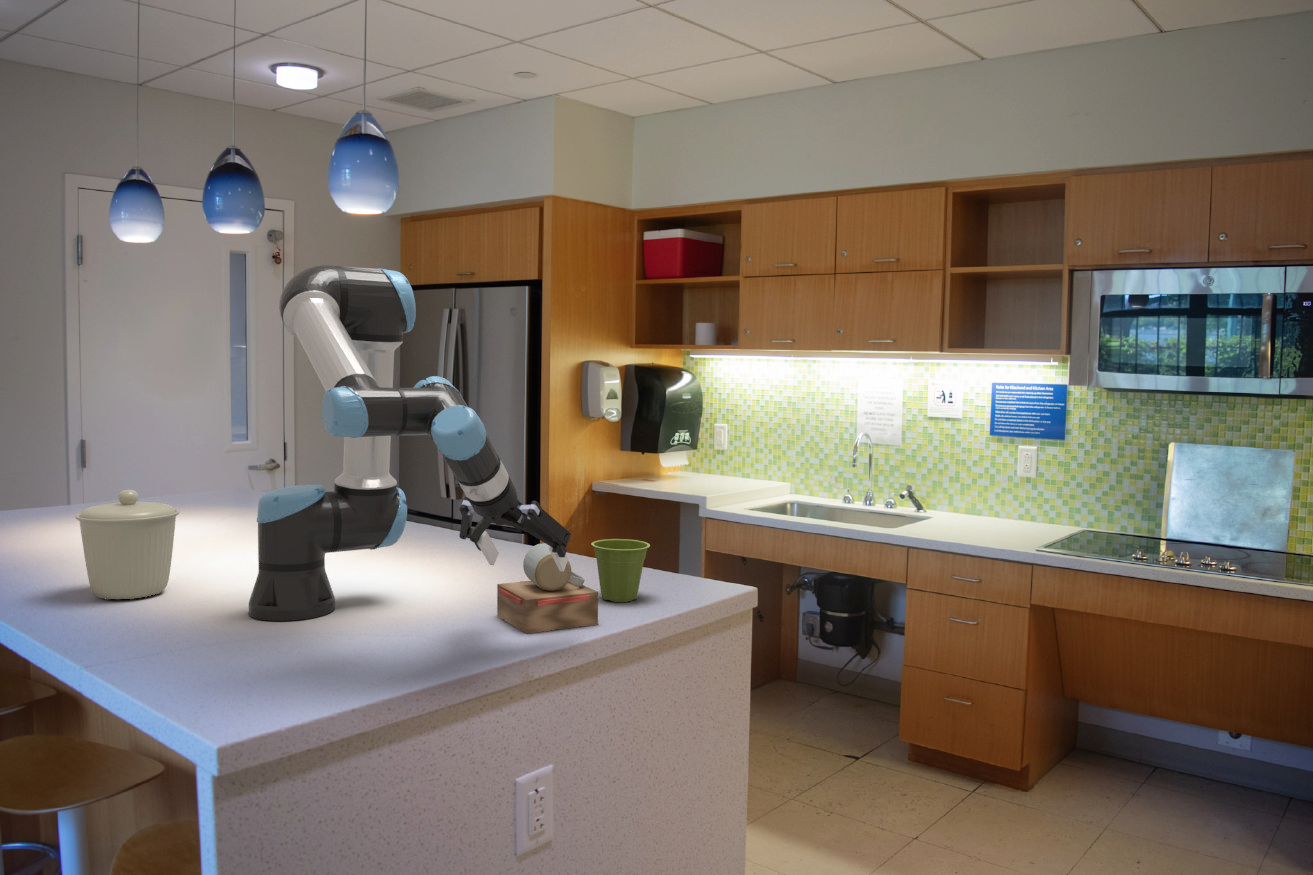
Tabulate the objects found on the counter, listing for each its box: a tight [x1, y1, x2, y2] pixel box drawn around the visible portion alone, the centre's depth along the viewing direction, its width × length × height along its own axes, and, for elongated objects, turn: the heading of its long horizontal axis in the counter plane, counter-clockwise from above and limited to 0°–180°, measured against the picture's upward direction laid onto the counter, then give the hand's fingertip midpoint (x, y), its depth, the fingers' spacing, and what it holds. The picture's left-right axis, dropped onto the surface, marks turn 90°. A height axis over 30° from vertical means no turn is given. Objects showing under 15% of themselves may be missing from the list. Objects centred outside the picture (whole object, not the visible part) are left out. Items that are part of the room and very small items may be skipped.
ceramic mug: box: [522, 542, 585, 591], centre depth 178 cm, size 11×8×8 cm
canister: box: [75, 489, 180, 600], centre depth 192 cm, size 18×18×21 cm
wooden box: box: [496, 580, 599, 635], centre depth 178 cm, size 14×14×6 cm
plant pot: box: [590, 538, 651, 603], centre depth 196 cm, size 12×12×11 cm
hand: (528, 562), depth 171 cm, fingers open, 13 cm apart
